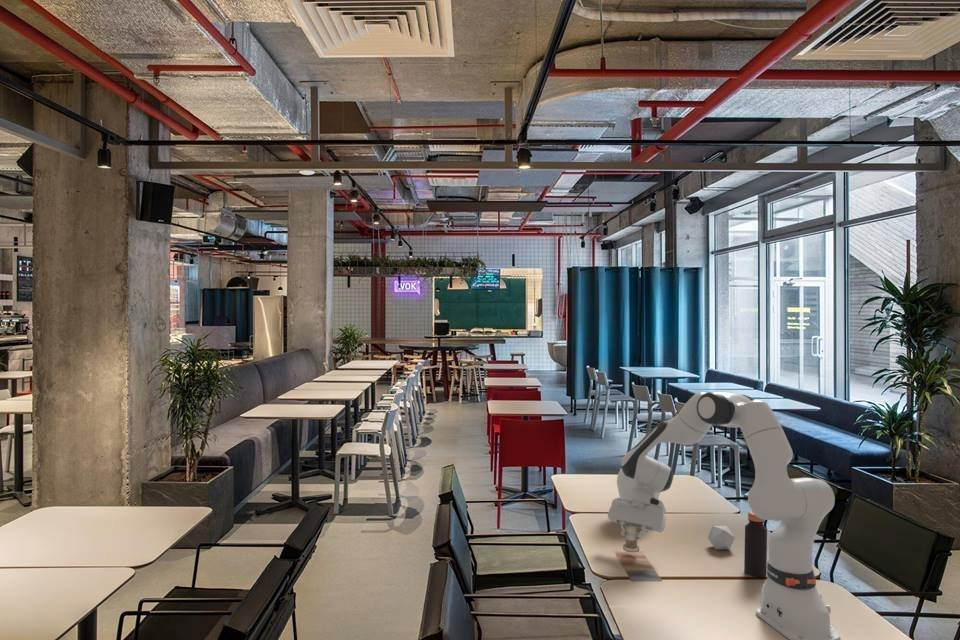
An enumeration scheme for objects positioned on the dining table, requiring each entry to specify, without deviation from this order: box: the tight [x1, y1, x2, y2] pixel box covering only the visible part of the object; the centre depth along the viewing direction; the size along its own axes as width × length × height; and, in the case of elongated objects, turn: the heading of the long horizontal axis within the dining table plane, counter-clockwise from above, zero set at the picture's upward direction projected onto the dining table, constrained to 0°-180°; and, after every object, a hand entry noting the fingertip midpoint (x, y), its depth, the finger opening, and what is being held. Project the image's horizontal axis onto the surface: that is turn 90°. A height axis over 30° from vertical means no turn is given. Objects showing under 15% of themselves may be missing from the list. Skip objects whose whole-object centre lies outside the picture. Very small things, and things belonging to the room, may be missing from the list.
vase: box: [616, 467, 661, 500], centre depth 256 cm, size 18×18×25 cm
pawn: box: [622, 524, 640, 552], centre depth 218 cm, size 6×6×9 cm
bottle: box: [743, 510, 768, 578], centre depth 205 cm, size 7×7×20 cm
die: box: [707, 525, 736, 551], centre depth 226 cm, size 8×9×10 cm
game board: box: [614, 550, 663, 582], centre depth 210 cm, size 24×10×1 cm, turn 1°
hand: (630, 537), depth 217 cm, fingers closed on pawn, 4 cm apart
